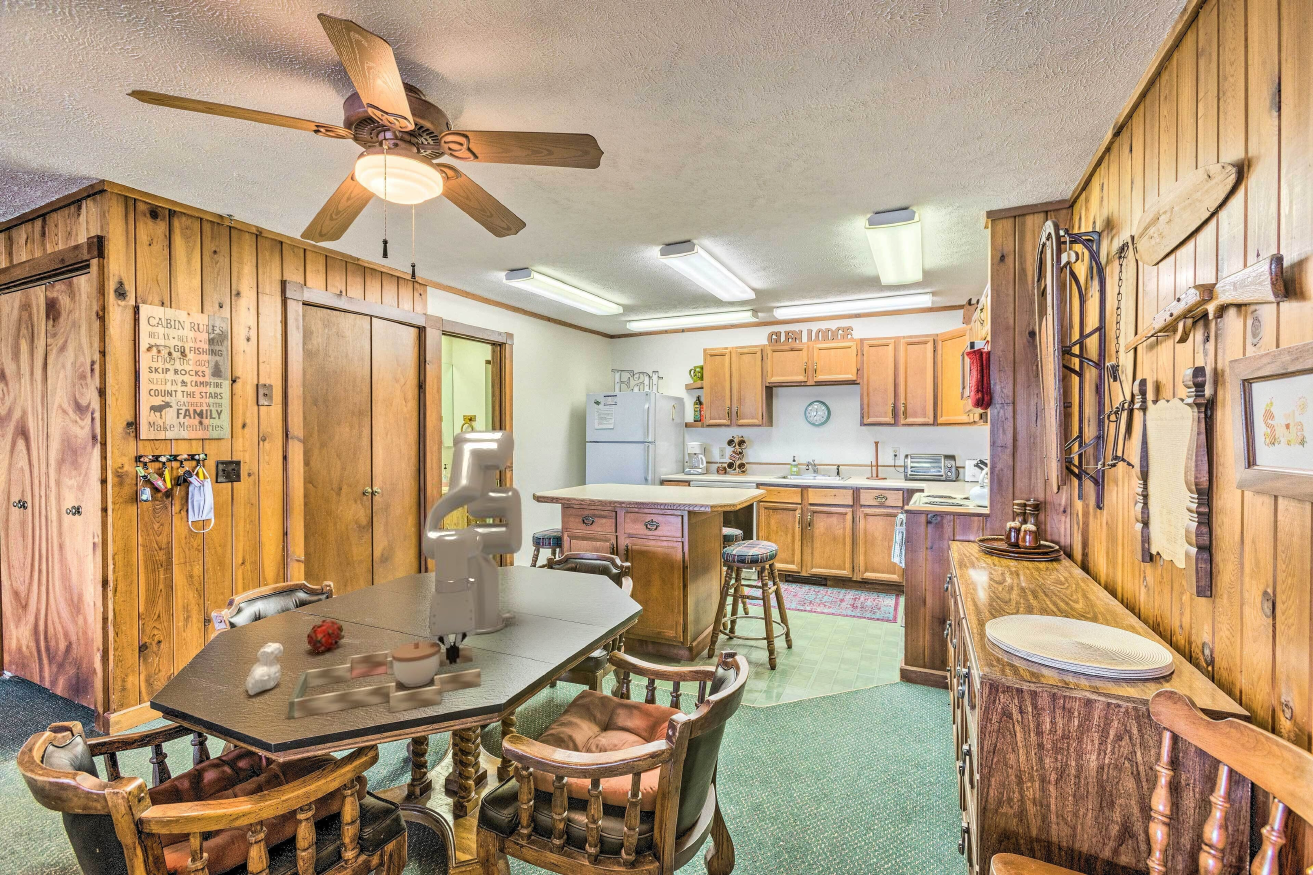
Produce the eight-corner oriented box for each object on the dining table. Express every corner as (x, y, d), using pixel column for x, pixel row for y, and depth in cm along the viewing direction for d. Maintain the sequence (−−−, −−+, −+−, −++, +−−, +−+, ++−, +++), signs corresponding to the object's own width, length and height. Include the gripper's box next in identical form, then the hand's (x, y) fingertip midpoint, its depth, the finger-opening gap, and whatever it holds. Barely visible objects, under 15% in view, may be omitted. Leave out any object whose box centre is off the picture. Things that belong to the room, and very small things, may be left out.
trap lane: (469, 652, 158) (469, 639, 158) (484, 695, 131) (483, 679, 131) (306, 677, 143) (306, 662, 143) (283, 731, 116) (283, 713, 116)
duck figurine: (260, 707, 132) (295, 662, 135) (227, 692, 130) (263, 646, 132) (270, 687, 143) (302, 646, 146) (240, 673, 140) (273, 631, 143)
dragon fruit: (338, 646, 169) (320, 668, 158) (311, 631, 168) (291, 652, 156) (355, 623, 169) (338, 643, 157) (328, 607, 168) (309, 626, 156)
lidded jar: (411, 694, 132) (409, 652, 132) (383, 685, 138) (381, 645, 138) (451, 677, 141) (450, 638, 141) (423, 669, 147) (422, 631, 147)
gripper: (481, 579, 149) (482, 652, 149) (417, 585, 143) (418, 662, 143) (485, 585, 142) (487, 662, 142) (418, 592, 136) (420, 672, 136)
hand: (452, 661), depth 142 cm, fingers closed
